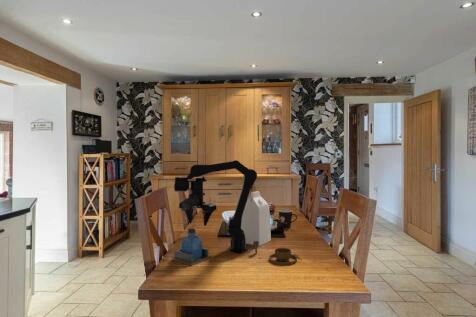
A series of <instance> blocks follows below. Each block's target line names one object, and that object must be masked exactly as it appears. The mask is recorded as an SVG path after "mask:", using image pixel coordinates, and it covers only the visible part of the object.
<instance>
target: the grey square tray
mask: <svg viewBox="0 0 476 317" xmlns="http://www.w3.org/2000/svg"><path fill="white" fill-rule="evenodd" d="M173 252H174V255H173V257H171V260H172V261H173V262H177V263H181V264H185V265H187V266H192V267H193V266H195V265H197V264H199V263H202V262H204V261H207V260H209V259H212V255H210V254H209V248H206V247H202V256H201V257H198V258H196V259H194V254H190V253H186V252H182V247H181V248H178V249H176V250H174V251H173Z"/></svg>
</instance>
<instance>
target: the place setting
mask: <svg viewBox="0 0 476 317" xmlns="http://www.w3.org/2000/svg"><path fill="white" fill-rule="evenodd" d="M253 244H254V245H253V248H254V249H255V250H254V254H255V255H257V254H258V248H259V247H260V246H259V242H258V241H254V242H253ZM274 258H276V259H277V260H278V261H276V260H273V259H274ZM260 259H261V260H262V257H258V260H260ZM268 259H269V261H270V262H271V263H273V264H276V265H279V266H289V265H293V264H295V263H296V262H297V261H298V259H299V260H301V261H302V260H303V259H302V258H301V257H299V255H297V254H292V250H291V249H290V248H287V247H277V248H275V249H274V253H273V254H270V255H269V256H268ZM290 259H293V260H292V261H289V260H290Z"/></svg>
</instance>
